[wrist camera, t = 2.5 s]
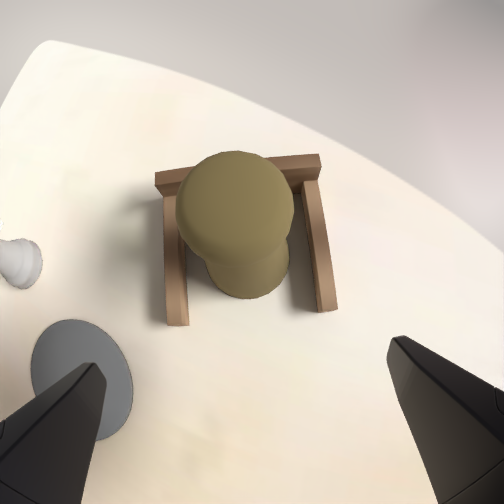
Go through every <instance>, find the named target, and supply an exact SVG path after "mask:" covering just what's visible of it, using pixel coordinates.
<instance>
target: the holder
mask: <svg viewBox="0 0 504 504" xmlns="http://www.w3.org/2000/svg"><path fill="white" fill-rule="evenodd" d="M264 159H266V160H268V161H270V162H272V163H273V164H274V165H275V166H276V167H277V168H278V169H279V170H280V171H281V172H282V173H283V175H284V177H285V179H286V181H287V183H288V185H289V187H290V189H291V192H292V194H296V193H301V196H302V202H303V209H304V215H305V221H306V228H307V234H308V241H309V248H310V255H311V262H312V270H313V277H314V285H315V293H316V301H317V309H318V313H321V312H329V311H334V310H336V309H338V306H337V298H336V290H335V283H334V276H333V269H332V262H331V255H330V249H329V243H328V236H327V230H326V224H325V219H324V213H323V207H322V202H321V196H320V191H319V186H318V181H317V180H318V177H319V173H320V170H321V167H322V166H321V162H320V157H319V154H306V155H292V156H280V157H269V158H264ZM193 167H195V166H193ZM193 167H186V168H179V169H173V170H167V171H160V172H155V186H156V188H157V189H158V191H159V192H160V193H161V195H162V196H163V227H164V270H165V293H166V311H167V326H188V325H189V313H188V299H187V283H186V264H185V241H184V239H183V238H182V237H181V235H180V231H179V228H178V225H177V222H176V217H175V206H176V196H177V193H178V190H179V188H180V185H181V182H182V181H183V180H184V178H185V177H186V176H187V174H188V173H189V172H190V170H191V169H192V168H193Z"/></svg>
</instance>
